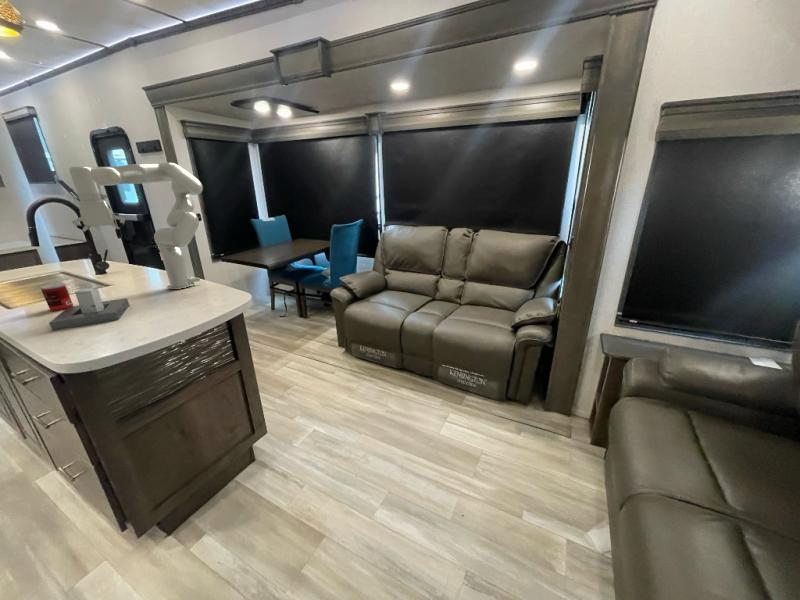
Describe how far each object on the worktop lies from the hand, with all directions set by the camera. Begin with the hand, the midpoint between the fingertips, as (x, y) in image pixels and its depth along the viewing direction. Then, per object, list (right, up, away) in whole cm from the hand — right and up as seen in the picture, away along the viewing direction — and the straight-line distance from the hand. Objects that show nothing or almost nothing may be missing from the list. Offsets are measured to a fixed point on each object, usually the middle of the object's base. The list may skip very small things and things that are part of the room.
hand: (105, 239), depth 138 cm
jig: (-1, -34, -4) cm, 34 cm away
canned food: (-27, -31, +7) cm, 41 cm away
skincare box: (0, -34, -4) cm, 34 cm away
